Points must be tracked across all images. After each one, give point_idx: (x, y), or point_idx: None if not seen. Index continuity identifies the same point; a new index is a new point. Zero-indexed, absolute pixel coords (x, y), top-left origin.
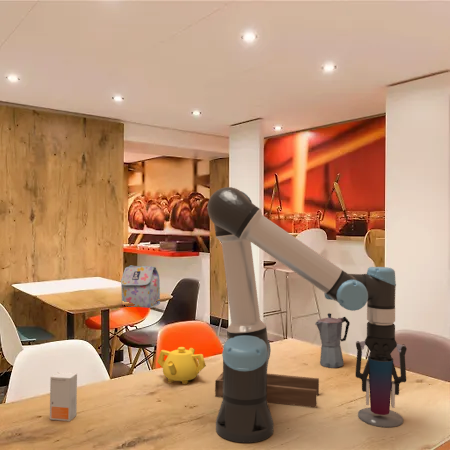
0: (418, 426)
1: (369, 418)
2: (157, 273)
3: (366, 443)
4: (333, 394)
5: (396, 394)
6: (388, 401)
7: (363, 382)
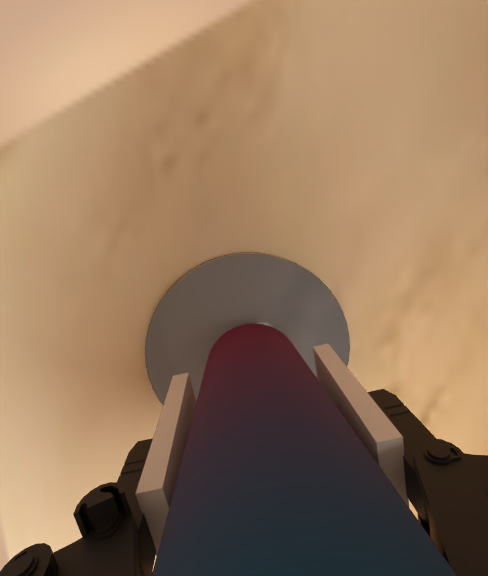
0: (77, 343)
1: (291, 303)
2: None
3: (268, 19)
4: None
5: (150, 441)
6: (203, 380)
7: (419, 437)
